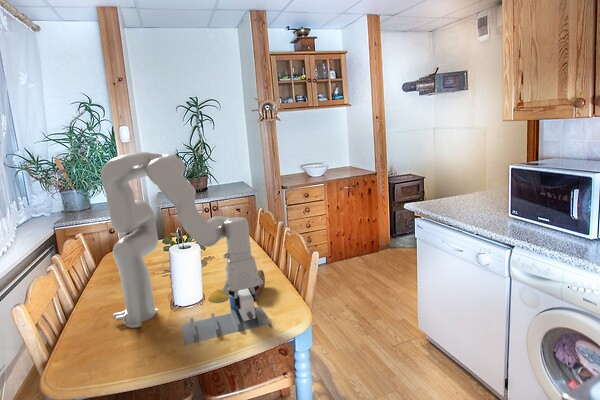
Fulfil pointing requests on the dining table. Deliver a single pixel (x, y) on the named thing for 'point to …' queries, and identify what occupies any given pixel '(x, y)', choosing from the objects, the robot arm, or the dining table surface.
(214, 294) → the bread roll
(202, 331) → the board
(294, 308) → the dining table surface
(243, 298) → the cable plug
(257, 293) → the brown flat oval slab
